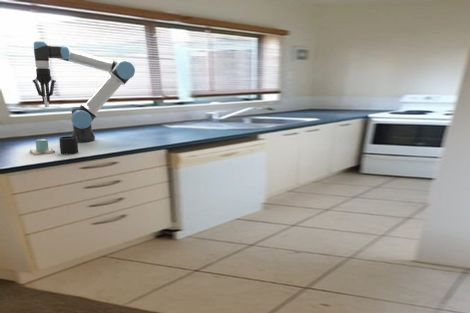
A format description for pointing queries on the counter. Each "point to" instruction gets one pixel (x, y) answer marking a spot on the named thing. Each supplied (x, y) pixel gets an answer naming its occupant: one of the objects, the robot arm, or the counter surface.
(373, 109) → the counter surface
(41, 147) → the cap
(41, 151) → the post block
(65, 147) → the mug
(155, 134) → the counter surface
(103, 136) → the counter surface
